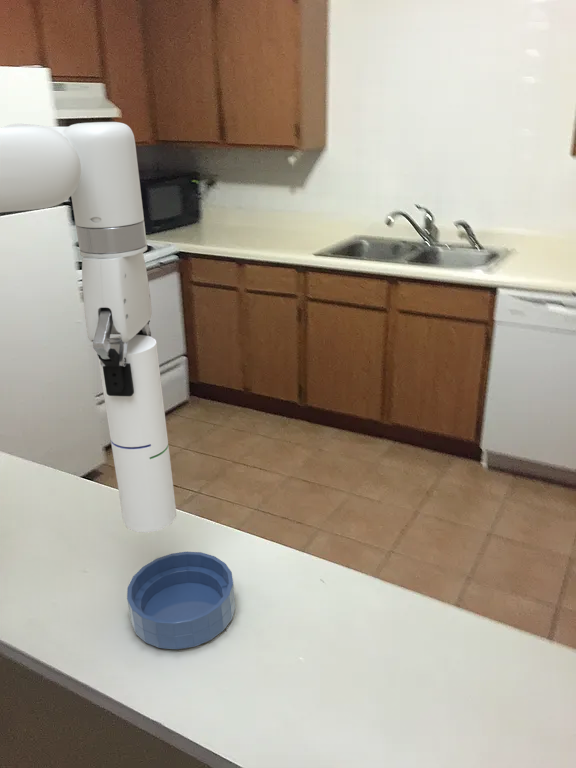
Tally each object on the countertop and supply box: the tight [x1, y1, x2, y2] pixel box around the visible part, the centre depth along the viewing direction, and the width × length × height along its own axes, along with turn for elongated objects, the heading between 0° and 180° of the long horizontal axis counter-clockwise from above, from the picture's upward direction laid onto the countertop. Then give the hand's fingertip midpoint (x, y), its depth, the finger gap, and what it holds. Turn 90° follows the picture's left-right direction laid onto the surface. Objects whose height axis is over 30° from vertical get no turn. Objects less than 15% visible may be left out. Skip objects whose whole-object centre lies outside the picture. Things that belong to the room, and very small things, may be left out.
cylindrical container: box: [96, 335, 177, 533], centre depth 86 cm, size 7×7×25 cm
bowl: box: [126, 551, 236, 650], centre depth 92 cm, size 14×14×5 cm
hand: (131, 380), depth 83 cm, fingers closed on cylindrical container, 7 cm apart
